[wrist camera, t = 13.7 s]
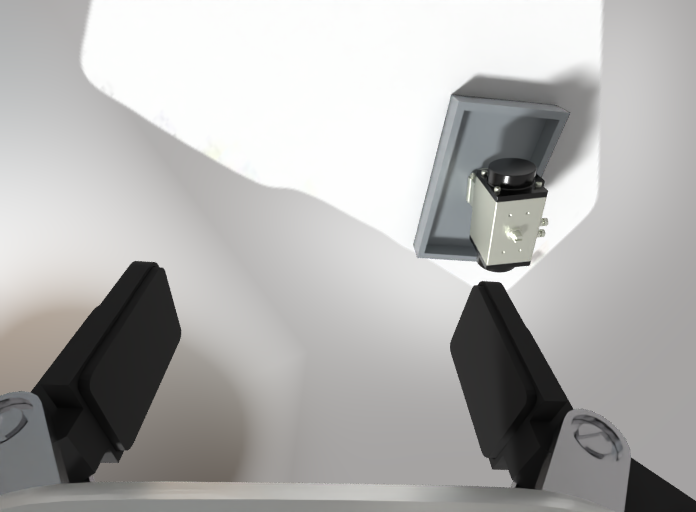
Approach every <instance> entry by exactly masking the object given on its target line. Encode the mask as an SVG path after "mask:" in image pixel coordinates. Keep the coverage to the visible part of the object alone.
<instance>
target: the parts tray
mask: <svg viewBox="0 0 696 512" xmlns="http://www.w3.org/2000/svg"><path fill="white" fill-rule="evenodd" d="M569 115H570V112H568V111H566V110H564V109H562V108H561V107H559V106H557V105H549V104H539V103H529V102H519V101H510V100H500V99H490V98H480V97H470V96H460V95H451V98H450V102H449V106H448V110H447V114H446V118H445V122H444V126H443V130H442V133H441V137H440V141H439V145H438V149H437V153H436V157H435V161H434V165H433V169H432V173H431V177H430V181H429V185H428V189H427V193H426V197H425V201H424V205H423V209H422V213H421V217H420V221H419V225H418V229H417V233H416V237H415V240H414V244H413V245H414V249H415V252H416V255H417V257H418V258H430V259H445V260H461V261H476V262H477V260H476V257H477V252H476V250H475V248H474V246H473V244H472V243H471V241H470V239H469V236H470V227H471V218H472V206H471V205H470V203H468V201H466V195H467V185H468V176H470V174H471V173H475V174H476V173H477V170H479V169H482V168H488V166H489V164H490V163H491V162H492V161H494V160H497V159H502V158H520V159H525V160H528V161H531V162H532V163H534V164H535V165H536V167H537V170H536V173H537V174H538V175H539V176H540V177H542V174H543V172H544V170H545V168H546V166H547V163H548V161H549V159H550V157H551V154H552V152H553V150H554V148H555V146H556V143H557V141H558V139H559V137H560V135H561V132H562V130H563V128H564V126H565V123H566V121H567V119H568V117H569ZM475 176H476V175H475Z"/></svg>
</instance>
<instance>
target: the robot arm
mask: <svg viewBox="0 0 696 512" xmlns="http://www.w3.org/2000/svg"><path fill="white" fill-rule="evenodd" d="M180 337H181V327H180V324H179V320H178V317H177V313H176V309H175V306H174V302H173V299H172V295H171V291H170V287H169V284H168V281H167V276H166V273H165V270H164V269H163V268H160V267H159V266H158V264H157V263H155V262H142V261H134V262H132V264H131V265H130V266H129V267H128V268H127V270H126V271H125V272H124V274H123V275H122V276H121V278H120V279H119V281H118V282H117V283H116V284H115V286H114V287H113V288H112V290H111V291H110V292H109V294H108V295H107V296H106V298H105V299H104V300H103V302H102V303H101V304H100V305H99V306H98V307H96V308H95V309H94V310H93V311H92V313H91V314H90V315H89V316H88V318H87V319H86V320H85V322H84V323H83V324H82V326H81V327H80V328H79V329H78V331H77V332H76V333H75V335H74V336H73V337H72V339H71V340H70V341H69V343H68V344H67V345H66V347H65V348H64V349H63V351H62V352H61V353H60V354H59V356H58V357H57V358H56V360H55V361H54V362H53V364H52V365H51V366H50V368H49V369H48V370H47V371H46V373H45V374H44V375H43V377H42V378H41V379H40V381H39V382H38V383H37V385H36V386H35V387H34V389H33V390H32V391H31V392H24V391H19V392H12V393H7V394H4V395H1V396H0V512H696V501H695V500H693V499H692V498H690V497H689V496H688V495H686V494H684V493H683V492H682V491H680V490H679V489H677V488H676V487H674V486H673V485H671V484H670V483H668V482H667V481H665V480H664V479H662V478H661V477H659V476H658V475H656V474H655V473H653V472H652V471H650V470H649V469H647V468H646V467H644V466H643V465H641V464H640V463H638V462H637V461H635V460H634V459H632V458H631V453H630V448H629V445H628V443H627V441H626V439H625V438H624V437H623V435H622V433H621V432H620V431H619V430H618V429H617V428H616V427H615V426H614V425H613V424H612V423H611V422H610V421H608V420H607V419H606V418H604V417H603V416H601V415H599V414H596V413H595V412H593V411H589V410H585V409H573V408H572V406H571V404H570V402H569V400H568V399H567V397H566V395H565V393H564V392H563V390H562V388H561V386H560V385H559V383H558V381H557V379H556V377H555V375H554V374H553V372H552V370H551V368H550V367H549V365H548V363H547V361H546V359H545V358H544V356H543V354H542V352H541V351H540V349H539V347H538V345H537V343H536V342H535V340H534V338H533V336H532V334H531V333H530V331H529V330H528V328H527V327H526V326H525V324H524V323H523V321H522V319H521V317H520V315H519V314H518V312H517V310H516V308H515V306H514V305H513V303H512V301H511V299H510V298H509V296H508V294H507V292H506V290H505V288H504V287H503V285H502V284H501V283H500V282H487V281H481V282H480V283H479V284H478V286H477V285H475V286H473V288H472V290H471V293H470V295H469V297H468V300H467V303H466V305H465V307H464V310H463V312H462V315H461V317H460V320H459V323H458V325H457V327H456V330H455V332H454V335H453V337H452V340H451V343H450V351H451V355H452V358H453V361H454V364H455V367H456V371H457V374H458V377H459V380H460V383H461V387H462V390H463V393H464V396H465V399H466V402H467V406H468V409H469V413H470V415H471V419H472V422H473V425H474V429H475V432H476V435H477V438H478V441H479V445H480V448H481V451H482V453H483V455H484V456H485V457H487V458H489V460H490V464H491V467H492V469H498V470H499V469H500V470H509V473H510V475H511V478H512V480H513V483H512V485H511V488H504V487H479V486H443V485H442V486H440V485H389V484H329V483H327V484H326V483H325V484H323V483H253V482H252V483H250V482H248V483H247V482H246V483H245V482H95V480H94V477H93V474H94V473H95V472H96V470H97V468H98V466H99V464H100V463H119V460H120V458H121V456H122V454H123V452H124V450H129V449H130V448H131V446H132V445H133V443H134V441H135V439H136V436H137V434H138V432H139V430H140V428H141V425H142V423H143V421H144V419H145V416H146V414H147V412H148V410H149V407H150V405H151V403H152V400H153V399H154V396H155V394H156V392H157V390H158V388H159V385H160V383H161V381H162V379H163V376H164V374H165V372H166V370H167V368H168V365H169V363H170V361H171V359H172V356H173V354H174V352H175V349H176V348H177V345H178V343H179V341H180Z"/></svg>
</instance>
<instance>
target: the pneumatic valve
mask: <svg viewBox="0 0 696 512" xmlns="http://www.w3.org/2000/svg"><path fill="white" fill-rule="evenodd" d="M536 170H537V167H536V165H535V164H534V163H532V162H531V161H528V160H525V159H520V158H502V159H497V160H494V161H492V162H491V163H490V164H489V166H488V168H482V169H479V170H477V173H476V174H475V173H471V174H470V176H468V185H467V195H466V201H468V203H470V205H471V206H472V218H471V227H470V236H469V239H470V241H471V243H472V244H473V246H474V248H475V250H476V252H477V257H476V260H477V263H478V264H479V265H480V266H481V267H482V268H484V269H486V270H489V271H492V272H507V271H510V270H512V269H513V268H514V267H520V266H529V265H530V262H531V258H532V254H533V250H534V246H535V242H536V238H537V237H544V236H545V230H544V229H540V230H539V226H547V225H548V219H547V218H542V213H543V209H544V205H545V201H546V197H547V193H548V190H547V189H545V188H544V183H545V181H544V180H543V179H542V178H541V177H540V176H539V175H538V174H537V173H536ZM475 175H476V176H475ZM541 218H542V219H541Z"/></svg>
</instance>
